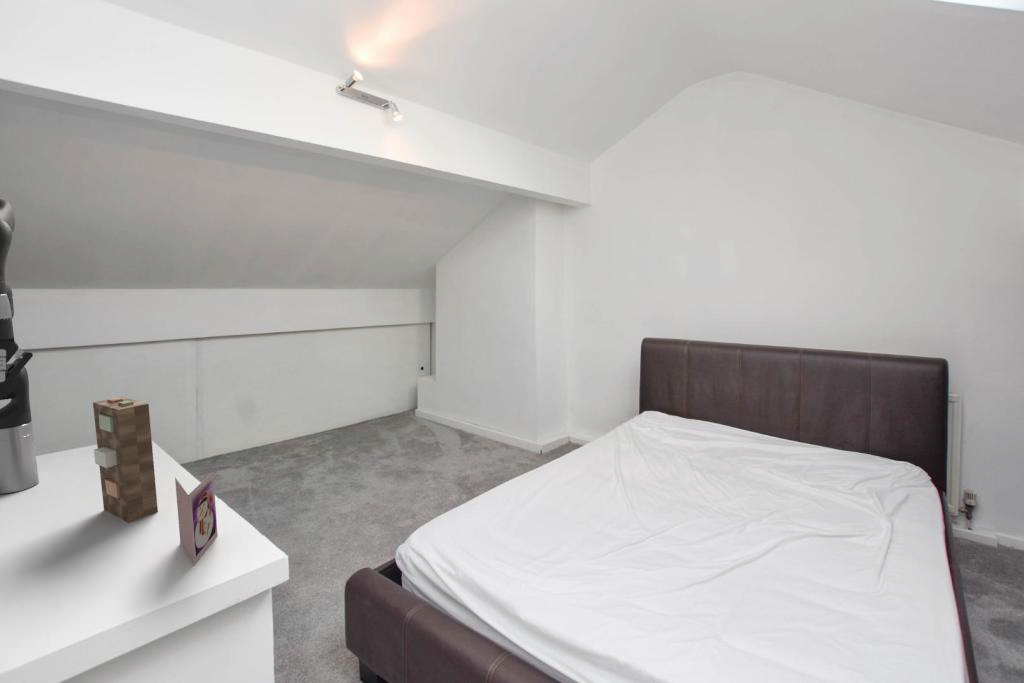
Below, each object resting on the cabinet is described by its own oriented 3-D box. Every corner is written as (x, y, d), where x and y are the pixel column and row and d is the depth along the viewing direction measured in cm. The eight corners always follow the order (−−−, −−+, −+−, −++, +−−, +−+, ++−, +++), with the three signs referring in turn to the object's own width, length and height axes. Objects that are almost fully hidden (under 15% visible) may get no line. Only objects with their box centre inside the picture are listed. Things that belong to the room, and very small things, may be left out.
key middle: (95, 463, 114) (93, 449, 113) (111, 459, 116) (110, 445, 116) (106, 468, 111) (104, 453, 111) (122, 463, 114) (121, 449, 114)
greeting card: (198, 566, 97) (193, 494, 95) (157, 569, 96) (150, 497, 94) (221, 535, 108) (217, 471, 106) (185, 538, 107) (179, 473, 105)
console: (103, 510, 119) (92, 399, 115) (132, 500, 124) (122, 394, 120) (129, 522, 113) (118, 407, 109) (157, 511, 118) (148, 401, 115)
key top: (99, 428, 114) (98, 414, 113) (116, 425, 117) (114, 411, 116) (110, 432, 112) (109, 417, 111) (127, 428, 114) (125, 414, 114)
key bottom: (106, 493, 116) (105, 479, 116) (122, 488, 119) (120, 475, 118) (117, 498, 114) (116, 484, 113) (133, 493, 116) (132, 479, 116)
